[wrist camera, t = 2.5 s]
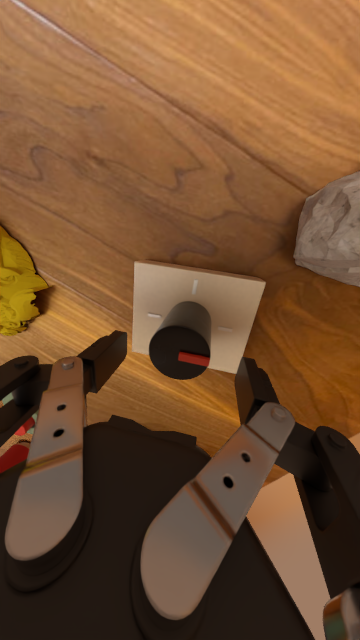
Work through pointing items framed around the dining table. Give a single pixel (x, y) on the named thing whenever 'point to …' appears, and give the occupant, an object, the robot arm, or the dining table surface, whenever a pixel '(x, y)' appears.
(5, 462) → the beverage can
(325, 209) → the fossil
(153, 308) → the panel
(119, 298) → the dining table surface
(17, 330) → the door knocker
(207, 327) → the knob
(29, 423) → the button
